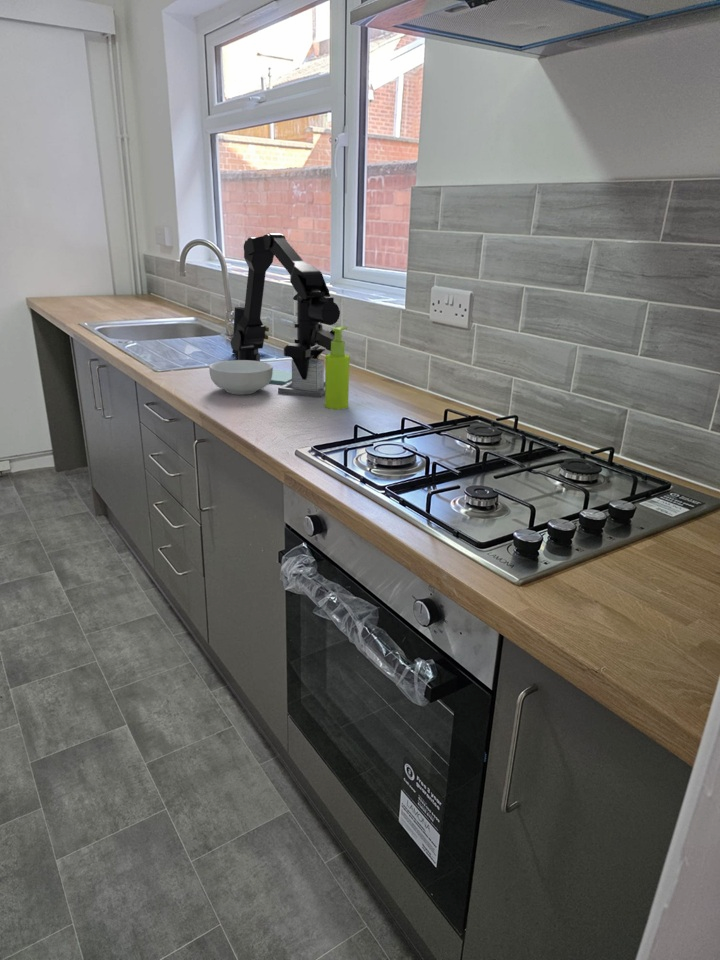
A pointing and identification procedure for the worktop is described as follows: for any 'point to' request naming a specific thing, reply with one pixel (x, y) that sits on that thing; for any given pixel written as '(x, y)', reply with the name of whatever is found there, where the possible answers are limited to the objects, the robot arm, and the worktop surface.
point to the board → (281, 377)
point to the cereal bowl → (241, 375)
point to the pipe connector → (237, 316)
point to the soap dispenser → (337, 373)
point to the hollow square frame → (300, 391)
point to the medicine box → (309, 376)
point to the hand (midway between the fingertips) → (307, 377)
